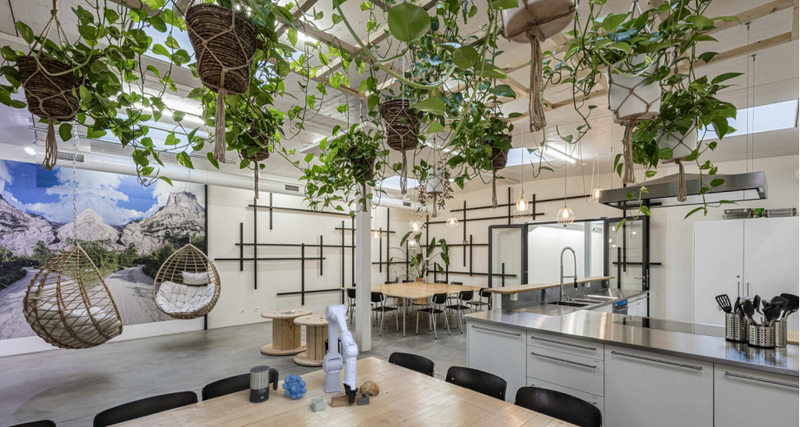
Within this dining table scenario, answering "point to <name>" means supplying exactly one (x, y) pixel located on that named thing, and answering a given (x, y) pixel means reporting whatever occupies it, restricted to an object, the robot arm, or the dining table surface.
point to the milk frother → (262, 383)
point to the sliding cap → (318, 404)
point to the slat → (343, 400)
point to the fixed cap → (363, 399)
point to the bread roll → (369, 389)
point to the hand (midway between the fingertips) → (350, 400)
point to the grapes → (294, 386)
